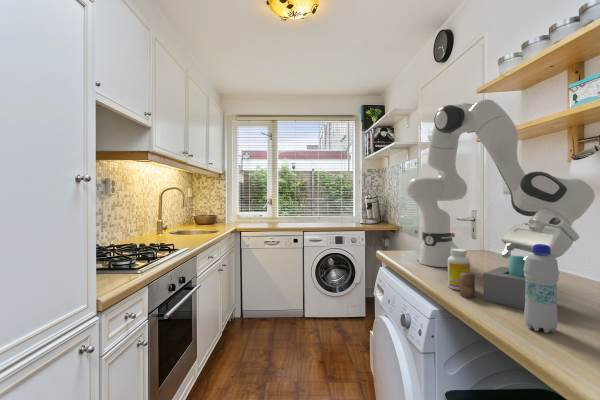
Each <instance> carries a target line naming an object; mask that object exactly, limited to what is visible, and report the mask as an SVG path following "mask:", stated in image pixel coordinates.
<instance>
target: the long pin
mask: <svg viewBox="0 0 600 400" xmlns="http://www.w3.org/2000/svg"><path fill="white" fill-rule="evenodd" d="M525 257H526V256H522V255H511V256H509V258H508V268H509V275H514V276H520V277H525V276H524V270H523V269H524V265H525V262H524V261H523V260H524V259H525Z"/></svg>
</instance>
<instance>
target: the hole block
mask: <svg viewBox="0 0 600 400" xmlns="http://www.w3.org/2000/svg"><path fill="white" fill-rule="evenodd" d="M525 282H526V278H525V277H520V276H514V275H509V267H508V266H507V267H506V266H499V267H497V268H494V269H491V270H488V271H486V272H485V271H484V272H483V298H482V300H483V301H488V302H492V303H496V304H501V305H505V306H509V307H513V308H515V309H516V308H517V309H521V310H525Z"/></svg>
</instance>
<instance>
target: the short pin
mask: <svg viewBox="0 0 600 400" xmlns="http://www.w3.org/2000/svg"><path fill="white" fill-rule="evenodd" d="M475 279H476V274H475V273H473V272H470V273H469V272H461V273H460V290H459V296H460V297H461V296H462V298H464V297H465V298H464V299H474V298H475V295H476V293H475V292H476V286H475V285H476V284H475V283H476V281H475Z"/></svg>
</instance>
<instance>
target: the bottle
mask: <svg viewBox="0 0 600 400" xmlns="http://www.w3.org/2000/svg"><path fill="white" fill-rule="evenodd" d="M550 253H551V249H550V247H549V246H548V245H544V244H536V245H534V246H533V253H532V254H529V255H527V257H526V256H525V257H526V259H525V265H524V269H523V270H524V276H525V278H526V282H525V310H524V309H523V310H524V311H523V313H524V314H523V316H524V322H525V325H526V327H527V328H528V329H531V330H532V329H533V330H534V331H535V332H539V331H540V329H543V332H544V334H546V333H547V334H548V333H554V332H555V331H556V330H557V327H558V323H559V321H558V308H557V303H558V301H557V299H558V298H557V296H558V292H557V290H558V287H557V286H558V285H557V284H558V281H559V280H560V278H559V275H560V270H559V265H558V264H559V263H558V260H557V258H553V257H551V256H549V255H550Z"/></svg>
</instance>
